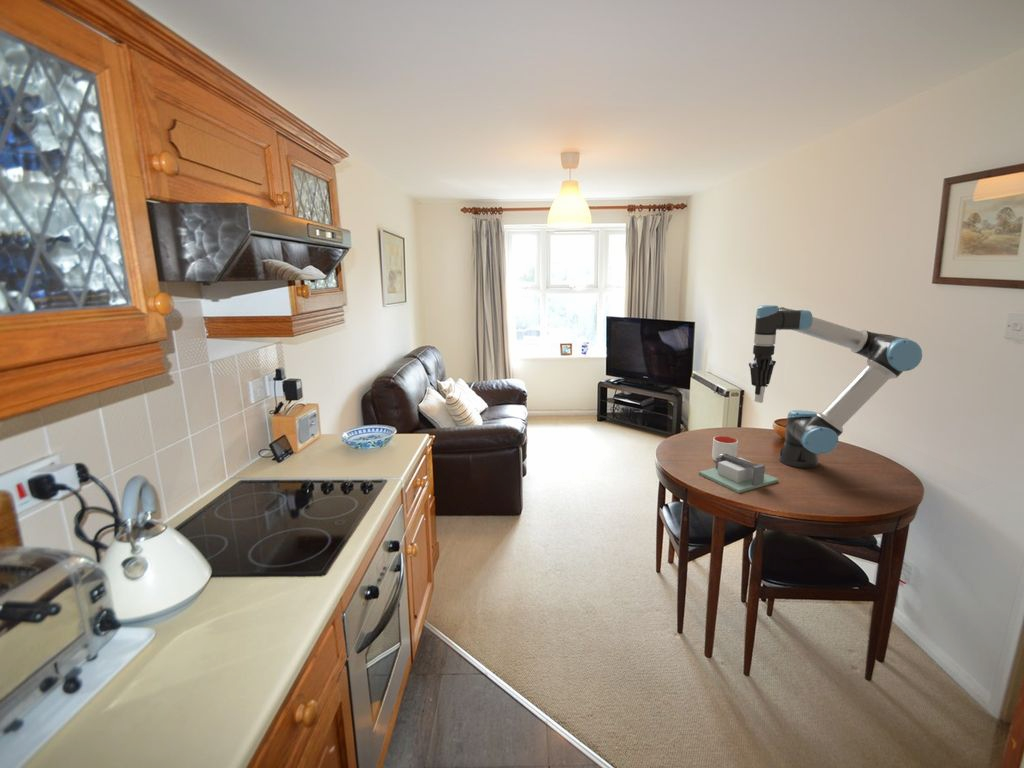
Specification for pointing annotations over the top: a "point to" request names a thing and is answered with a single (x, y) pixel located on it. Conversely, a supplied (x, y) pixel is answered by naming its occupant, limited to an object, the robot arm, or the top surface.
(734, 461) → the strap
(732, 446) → the cup
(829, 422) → the robot arm
